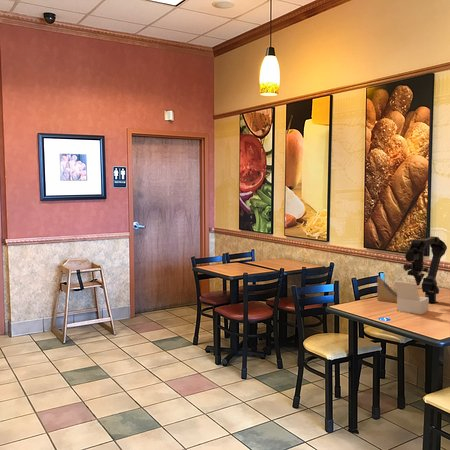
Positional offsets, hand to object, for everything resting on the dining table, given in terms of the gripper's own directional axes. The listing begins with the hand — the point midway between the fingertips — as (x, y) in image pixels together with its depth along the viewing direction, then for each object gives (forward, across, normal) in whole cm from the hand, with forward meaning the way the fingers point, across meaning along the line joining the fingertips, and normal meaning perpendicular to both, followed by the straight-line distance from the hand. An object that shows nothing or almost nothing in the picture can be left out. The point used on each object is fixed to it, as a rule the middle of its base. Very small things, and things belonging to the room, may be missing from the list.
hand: (417, 285), depth 301 cm
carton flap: (-1, +22, +2) cm, 22 cm away
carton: (+13, +14, +2) cm, 19 cm away
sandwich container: (+13, -5, -20) cm, 24 cm away
